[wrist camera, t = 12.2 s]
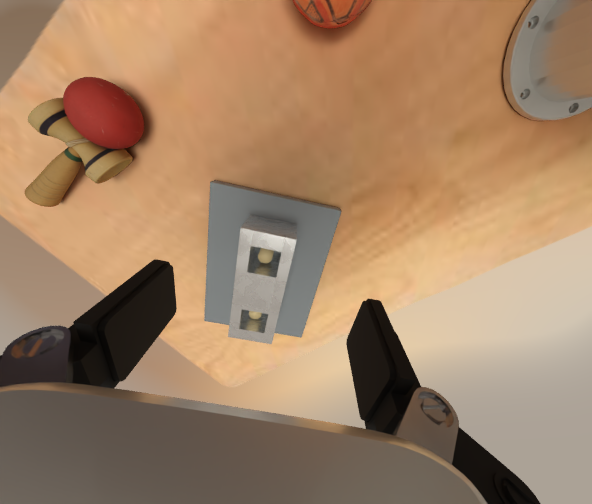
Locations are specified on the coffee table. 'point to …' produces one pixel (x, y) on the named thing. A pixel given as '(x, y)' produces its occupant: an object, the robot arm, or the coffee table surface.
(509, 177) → the coffee table surface
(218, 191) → the pin board
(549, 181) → the coffee table surface
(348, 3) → the pot
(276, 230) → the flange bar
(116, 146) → the kendama
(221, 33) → the coffee table surface
